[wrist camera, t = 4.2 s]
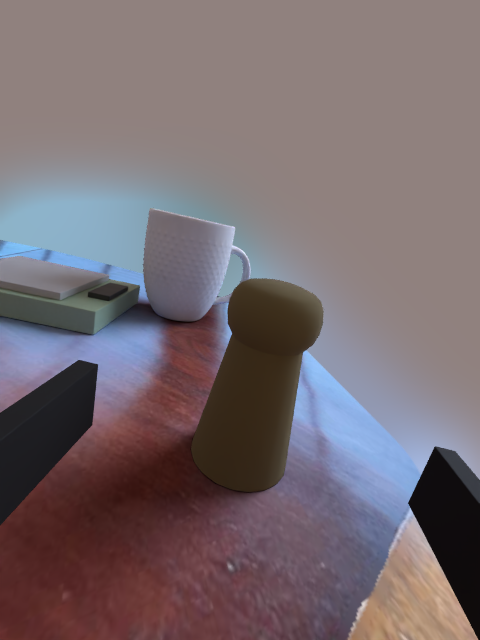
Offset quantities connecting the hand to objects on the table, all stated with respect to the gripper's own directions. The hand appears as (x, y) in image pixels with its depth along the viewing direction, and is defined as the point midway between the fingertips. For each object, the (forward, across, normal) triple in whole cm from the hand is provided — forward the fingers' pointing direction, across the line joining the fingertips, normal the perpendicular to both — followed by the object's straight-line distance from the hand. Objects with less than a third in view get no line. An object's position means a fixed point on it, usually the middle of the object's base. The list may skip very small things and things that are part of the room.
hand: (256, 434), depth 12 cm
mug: (+31, -10, -6) cm, 34 cm away
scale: (+24, -26, -6) cm, 36 cm away
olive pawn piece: (+6, 0, -6) cm, 9 cm away
